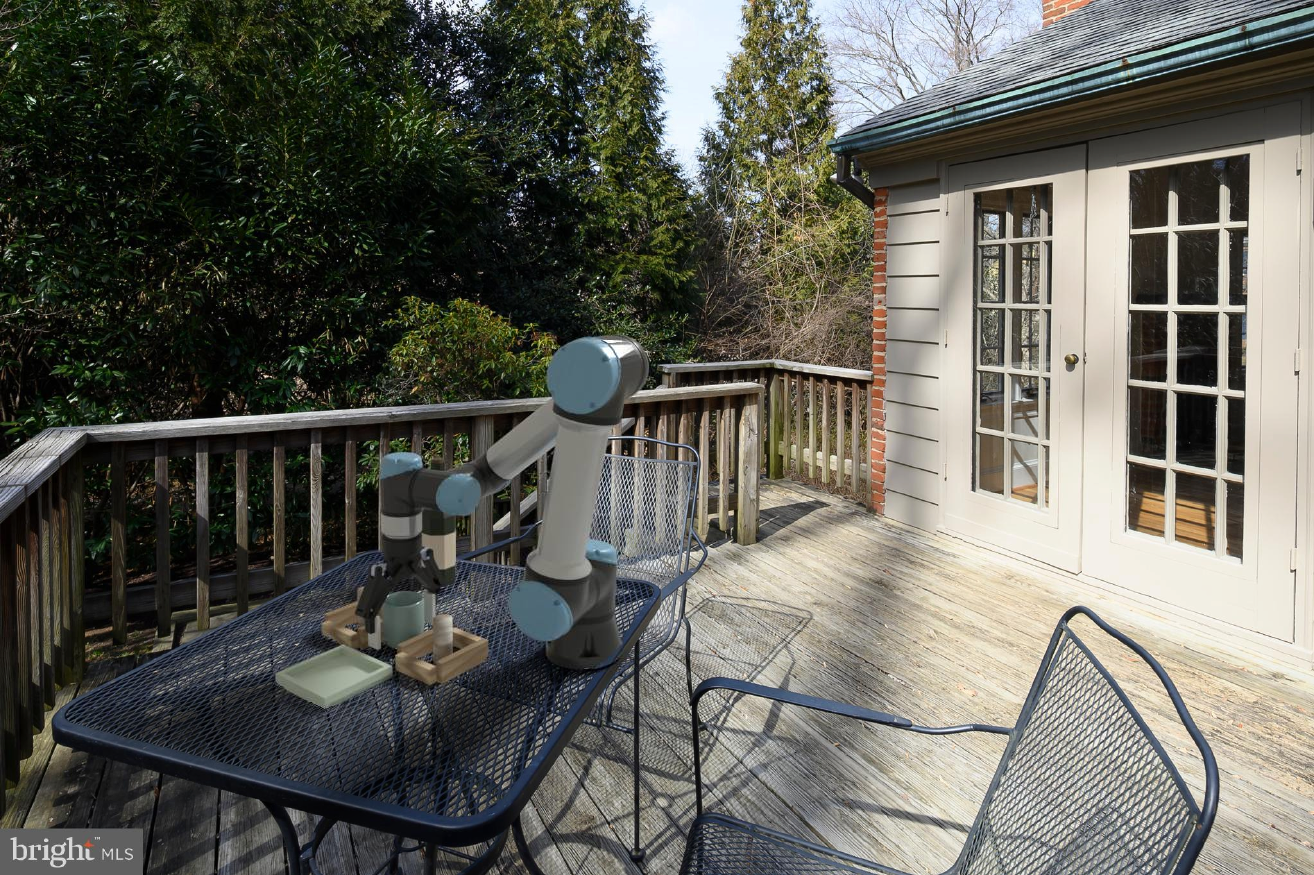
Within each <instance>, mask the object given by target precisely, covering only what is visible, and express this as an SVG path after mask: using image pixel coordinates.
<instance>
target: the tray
mask: <svg viewBox="0 0 1314 875" xmlns="http://www.w3.org/2000/svg"><path fill="white" fill-rule="evenodd" d="M274 674H275V677H274V678H275V683H276V682H277V683H278V684H280V685H281V686H283V687H284V688H285V689H286V691H288V692H289V693H291V694H293V695H295V696H296V697H299V698H301V699H303V700H304V701H306V700H307V701H306V702H308V703H310V702H312V703H313V704H312V703H311V704H312V705H314V704H316V705H318V706H321V707H322V708H324V709H325V708H328V707H329V706H333V707H334V706H337V705H339V704H341V703H344V701H347V700H350V699H351V698H353V697H355V696H358V695H360V694H361V693H363V692H365V691H367V690H369V689H371V688H373V687H375V686H377V685H379V684H381V683H384V682H385V681H387V680H389V679H392V678H393V665H390V664H389V663H387V662H384V661H382V660H379V659H377V658H375V657H372V656H371V655H368V654H366V653H364V652H361V651H359V650H357V649H353V648H350V647H348V646H346V645H344V644H343V645H338V646H336V647H334V648H332V649H329V650H327V651H324V652H322V653H320V654H317V655H315V656H313V657H310V658H308V659H306V660H303V661H301V662H298V663H297V664H294V665H291V666H289V667H287V668H285V669H283V670H279V671H278V672H275V673H274ZM285 689H284V690H285ZM316 705H315V706H316ZM318 706H317V707H318ZM322 708H321V709H322ZM324 709H323V710H324Z"/></svg>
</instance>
